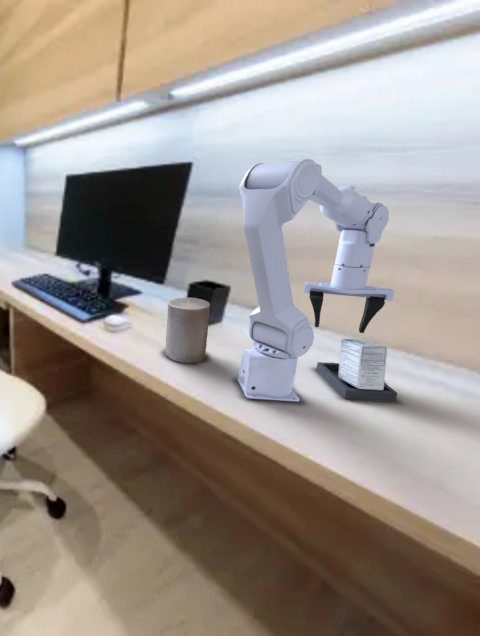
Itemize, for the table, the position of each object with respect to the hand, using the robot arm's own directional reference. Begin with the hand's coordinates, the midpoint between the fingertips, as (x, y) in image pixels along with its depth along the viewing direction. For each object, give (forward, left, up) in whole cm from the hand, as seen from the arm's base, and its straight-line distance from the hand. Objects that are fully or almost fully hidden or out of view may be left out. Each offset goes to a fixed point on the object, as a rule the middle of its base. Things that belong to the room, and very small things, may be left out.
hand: (338, 328), depth 81 cm
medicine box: (+2, -7, -9) cm, 12 cm away
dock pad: (+2, -5, -10) cm, 12 cm away
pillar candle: (-30, +6, -11) cm, 32 cm away
